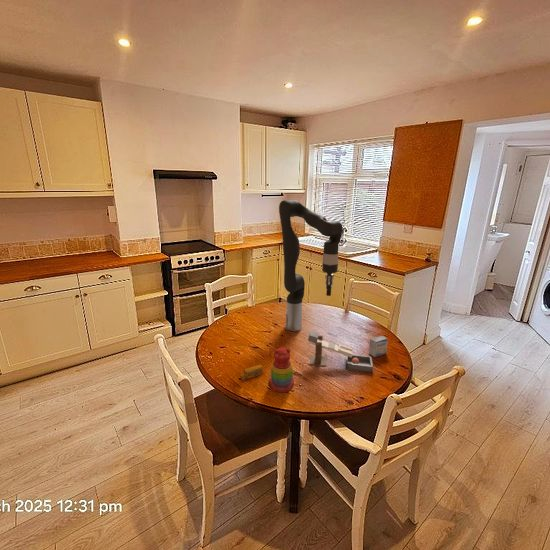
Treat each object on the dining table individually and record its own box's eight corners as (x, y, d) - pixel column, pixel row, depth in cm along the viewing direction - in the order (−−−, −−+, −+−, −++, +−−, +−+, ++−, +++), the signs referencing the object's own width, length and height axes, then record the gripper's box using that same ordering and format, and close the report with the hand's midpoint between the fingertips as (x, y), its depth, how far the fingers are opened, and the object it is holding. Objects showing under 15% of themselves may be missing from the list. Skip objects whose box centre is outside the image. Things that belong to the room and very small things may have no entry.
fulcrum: (309, 364, 143) (310, 342, 140) (310, 355, 151) (311, 334, 147) (326, 366, 141) (327, 343, 138) (327, 357, 149) (328, 335, 146)
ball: (360, 364, 140) (354, 366, 141) (359, 360, 143) (353, 363, 144) (356, 358, 140) (350, 361, 141) (356, 355, 143) (350, 357, 144)
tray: (345, 369, 139) (346, 363, 138) (345, 359, 148) (345, 353, 147) (372, 372, 137) (373, 366, 136) (370, 361, 145) (371, 356, 144)
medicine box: (374, 357, 149) (376, 342, 146) (368, 353, 153) (369, 338, 150) (386, 353, 152) (388, 338, 150) (379, 349, 156) (381, 334, 154)
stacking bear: (293, 377, 133) (293, 342, 128) (295, 392, 124) (296, 354, 119) (269, 378, 133) (268, 342, 128) (269, 393, 123) (269, 355, 118)
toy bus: (240, 377, 134) (239, 370, 133) (259, 371, 139) (259, 363, 138) (243, 381, 131) (242, 373, 130) (262, 374, 136) (262, 367, 135)
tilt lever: (307, 342, 141) (309, 335, 140) (308, 337, 147) (310, 330, 145) (351, 357, 139) (354, 350, 137) (351, 351, 144) (353, 344, 143)
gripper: (323, 258, 153) (321, 290, 158) (321, 265, 141) (320, 299, 146) (338, 259, 152) (336, 291, 157) (337, 266, 139) (335, 300, 144)
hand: (328, 295), depth 151 cm, fingers closed
